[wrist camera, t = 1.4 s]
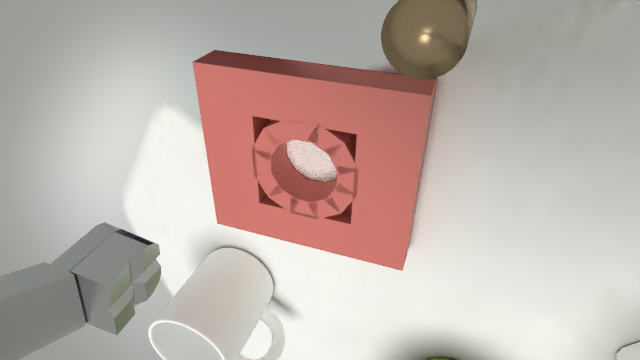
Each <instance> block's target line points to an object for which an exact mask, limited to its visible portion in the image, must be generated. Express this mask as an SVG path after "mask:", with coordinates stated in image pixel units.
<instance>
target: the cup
mask: <svg viewBox="0 0 640 360" xmlns="http://www.w3.org/2000/svg"><path fill="white" fill-rule="evenodd" d="M616 360H640V342H638V343H635V344H632V345H629V346H626V347H622V348H621V349H620V350H619V351H618V353H617V354H616Z"/></svg>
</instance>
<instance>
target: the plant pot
mask: <svg viewBox="0 0 640 360" xmlns="http://www.w3.org/2000/svg"><path fill="white" fill-rule="evenodd" d="M429 360H451V359H444V358H434V359H429Z"/></svg>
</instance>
